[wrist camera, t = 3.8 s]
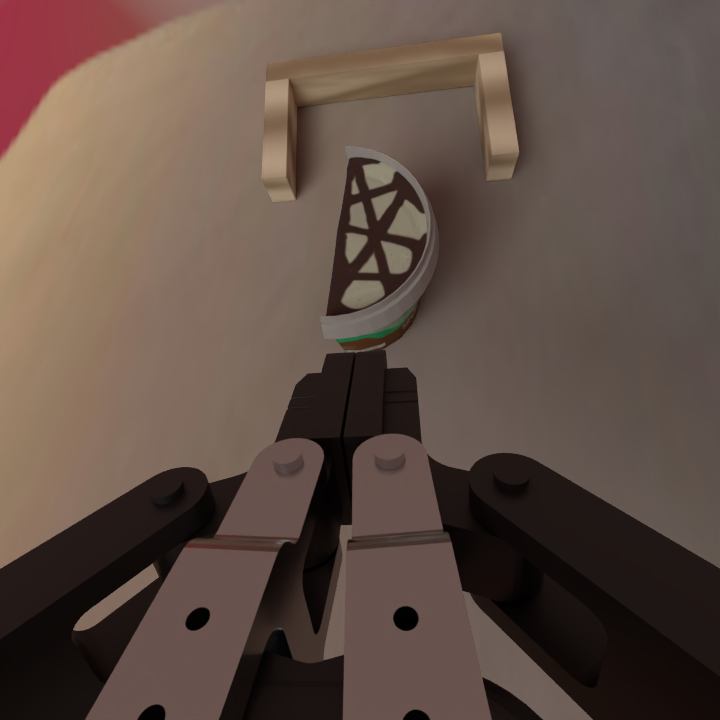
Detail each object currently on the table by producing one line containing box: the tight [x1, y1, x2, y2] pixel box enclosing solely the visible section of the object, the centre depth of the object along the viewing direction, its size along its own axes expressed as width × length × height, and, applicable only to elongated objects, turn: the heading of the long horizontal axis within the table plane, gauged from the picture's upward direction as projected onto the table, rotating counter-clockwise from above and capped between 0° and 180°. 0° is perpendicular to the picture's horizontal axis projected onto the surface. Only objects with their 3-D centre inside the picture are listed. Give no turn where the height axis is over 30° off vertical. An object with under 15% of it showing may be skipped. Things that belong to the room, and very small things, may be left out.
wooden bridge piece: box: [262, 33, 519, 202], centre depth 38 cm, size 12×20×3 cm, turn 91°
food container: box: [319, 146, 439, 354], centre depth 30 cm, size 12×6×10 cm, turn 173°
